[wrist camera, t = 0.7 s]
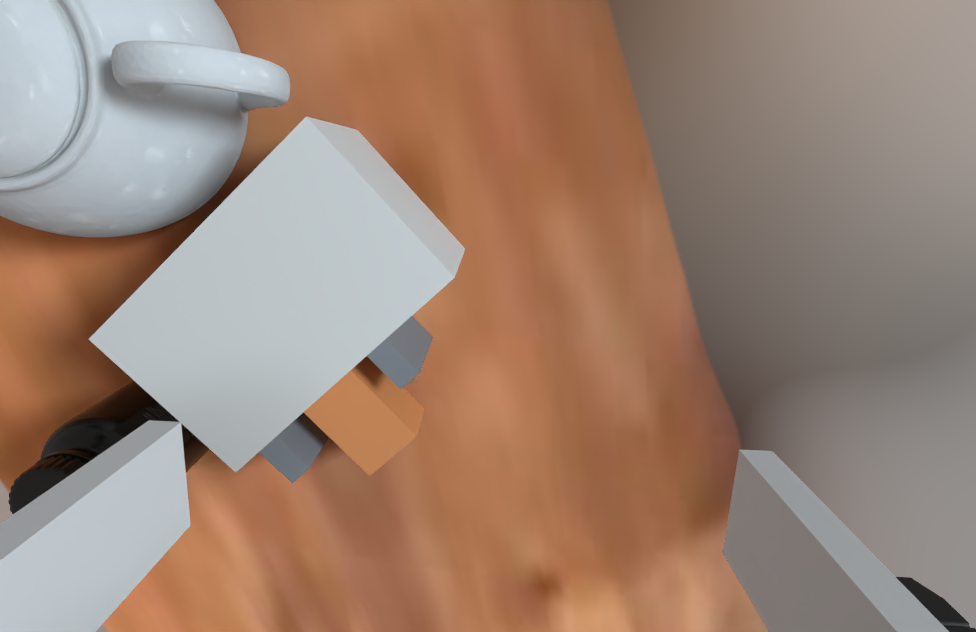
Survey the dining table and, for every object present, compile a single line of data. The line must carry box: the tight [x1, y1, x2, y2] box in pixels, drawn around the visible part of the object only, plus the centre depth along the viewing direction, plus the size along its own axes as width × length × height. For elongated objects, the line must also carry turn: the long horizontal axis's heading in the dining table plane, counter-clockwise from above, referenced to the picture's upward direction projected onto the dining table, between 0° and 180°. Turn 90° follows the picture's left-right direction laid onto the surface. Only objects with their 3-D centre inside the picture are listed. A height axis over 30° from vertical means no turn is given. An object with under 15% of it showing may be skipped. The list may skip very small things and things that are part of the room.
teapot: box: [0, 0, 290, 238], centre depth 29 cm, size 19×18×14 cm
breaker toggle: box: [303, 356, 425, 476], centre depth 36 cm, size 8×4×4 cm, turn 42°
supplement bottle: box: [9, 381, 209, 514], centre depth 35 cm, size 7×7×12 cm
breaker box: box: [89, 117, 465, 483], centre depth 34 cm, size 13×16×10 cm
